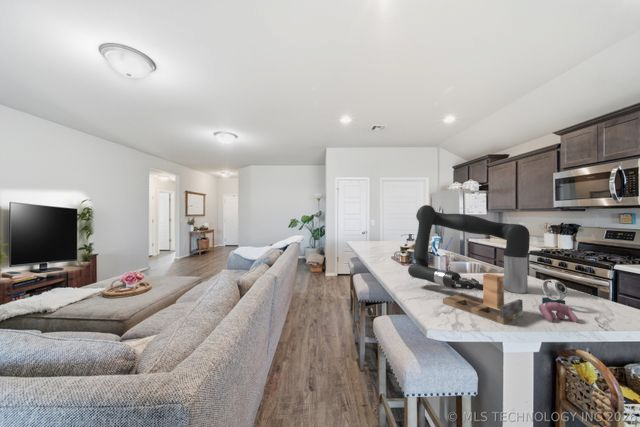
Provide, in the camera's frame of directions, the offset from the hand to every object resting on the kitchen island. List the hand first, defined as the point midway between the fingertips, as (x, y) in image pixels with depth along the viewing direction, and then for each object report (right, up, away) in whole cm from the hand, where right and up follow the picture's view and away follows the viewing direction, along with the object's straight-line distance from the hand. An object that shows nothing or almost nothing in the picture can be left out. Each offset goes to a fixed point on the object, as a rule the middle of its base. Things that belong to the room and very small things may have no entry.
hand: (486, 288), depth 99 cm
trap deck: (-3, -8, -1) cm, 9 cm away
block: (+1, -6, -2) cm, 7 cm away
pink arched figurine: (+18, -8, -11) cm, 23 cm away
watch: (+28, -8, +1) cm, 30 cm away
